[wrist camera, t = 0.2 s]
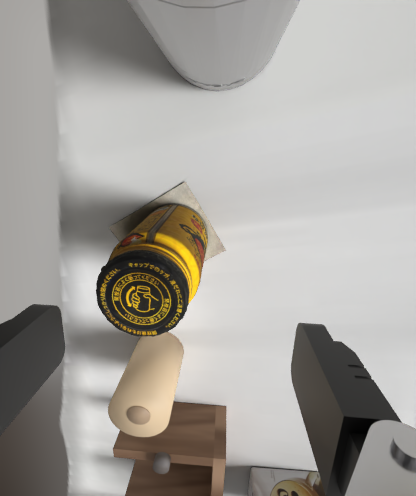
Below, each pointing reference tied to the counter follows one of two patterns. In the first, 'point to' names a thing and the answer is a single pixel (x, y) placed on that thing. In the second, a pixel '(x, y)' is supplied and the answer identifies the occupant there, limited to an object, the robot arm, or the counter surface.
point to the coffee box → (284, 483)
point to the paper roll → (148, 386)
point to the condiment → (156, 264)
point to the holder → (179, 454)
